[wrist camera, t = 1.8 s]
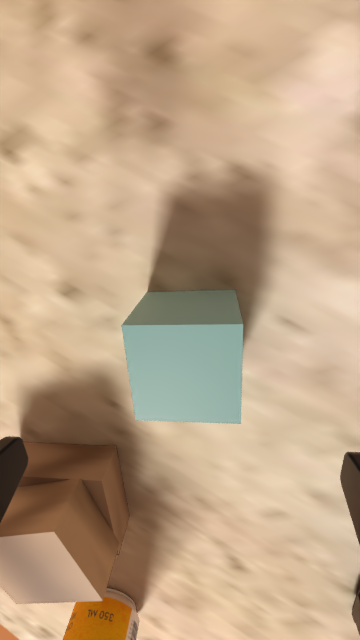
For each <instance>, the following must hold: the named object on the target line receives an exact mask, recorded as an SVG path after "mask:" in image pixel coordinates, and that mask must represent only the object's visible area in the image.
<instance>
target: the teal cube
mask: <svg viewBox="0 0 360 640" xmlns="http://www.w3.org/2000/svg"><path fill="white" fill-rule="evenodd" d="M122 332H123V338H124V345H125V352H126V359H127V365H128V372H129V379H130V386H131V392H132V399H133V406H134V413H135V420H144V421H173V422H203V423H233V424H241V393H242V353H243V321H242V317H241V312H240V308H239V304H238V299H237V295H236V291H235V290H200V291H160V292H147V293H146V294H145V295H144V297H143V298H142V299H141V301H140V302H139V303H138V305H137V306H136V307H135V309H134V310H133V311H132V312H131V314H130V315H129V316H128V318H127V319H126V320H125V322H124V323H123V324H122Z"/></svg>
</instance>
